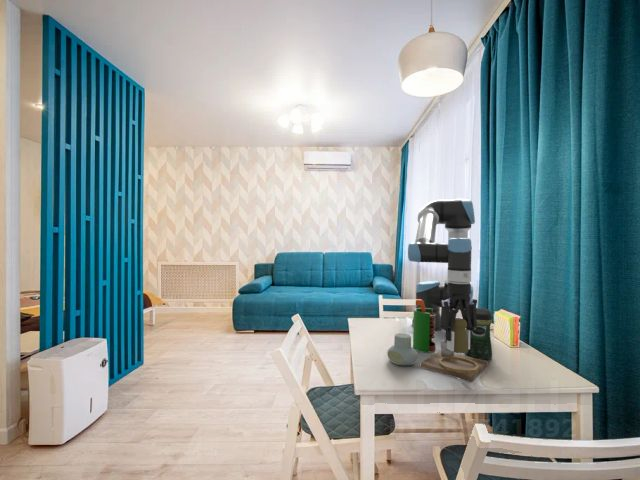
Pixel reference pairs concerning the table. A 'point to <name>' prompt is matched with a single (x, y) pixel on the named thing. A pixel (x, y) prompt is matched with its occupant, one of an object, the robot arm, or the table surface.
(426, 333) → the motor
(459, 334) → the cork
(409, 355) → the air freshener
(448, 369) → the carrier board
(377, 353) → the table surface
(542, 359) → the table surface
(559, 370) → the table surface
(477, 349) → the coffee jar
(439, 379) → the table surface
